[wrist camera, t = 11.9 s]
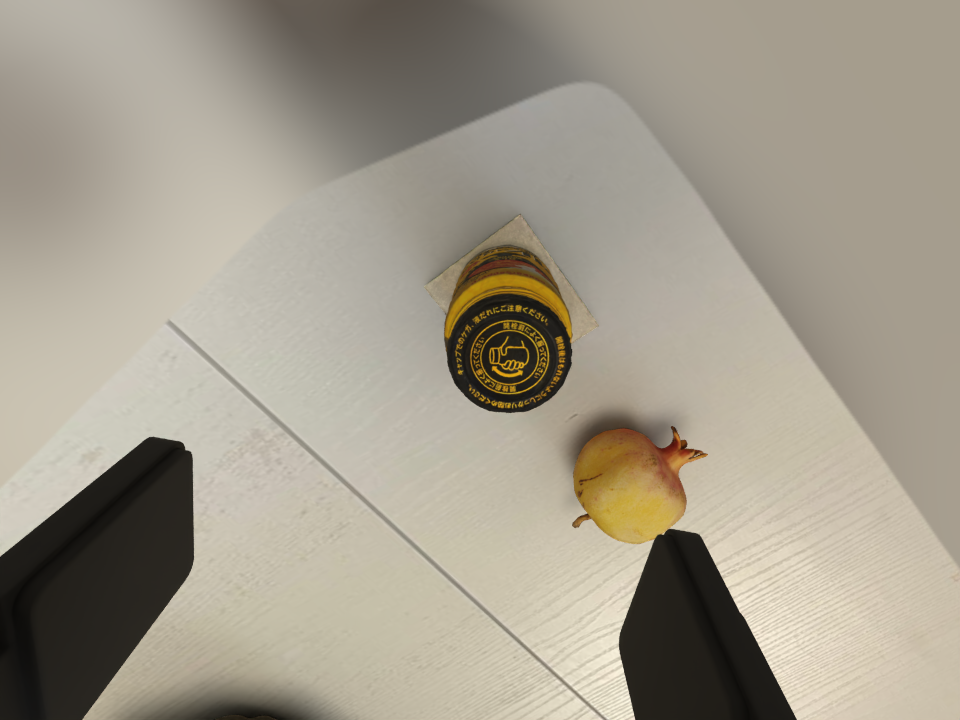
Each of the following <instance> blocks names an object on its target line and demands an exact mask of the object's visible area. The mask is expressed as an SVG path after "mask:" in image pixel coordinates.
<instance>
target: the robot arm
mask: <svg viewBox="0 0 960 720" xmlns="http://www.w3.org/2000/svg"><path fill="white" fill-rule="evenodd" d="M193 561H194V527H193V458H192V454H191V452H190V451H187V450H185V446H184V444H183V443H182V442H179V441H174V440H168V439H162V438H157V437H149V438H147V439H146V440H144V441H143V442H142V443H141V444H139V445H138V446H137V447H136V448H134V449H133V450H132V451H131V452H129V453H128V454H127V455H126V456H124V457H123V458H122V459H121V460H119V461H118V462H117V463H116V464H114V465H113V466H112V467H111V468H110V469H108V470H107V471H106V472H105V473H103V474H102V475H101V476H100V477H98V478H97V479H96V480H95V481H93V482H92V483H91V484H90V485H88V486H87V487H86V488H85V489H84V490H82V491H81V492H80V493H79V494H77V495H76V496H75V497H74V498H72V499H71V500H70V501H69V502H67V503H66V504H65V505H64V506H62V507H61V508H60V509H59V510H58V511H56V512H55V513H54V514H53V515H51V516H50V517H49V518H48V519H46V520H45V521H44V522H43V523H41V524H40V525H39V526H38V527H36V528H35V529H34V530H33V531H32V532H30V533H29V534H28V535H27V536H25V537H24V538H23V539H22V540H20V541H19V542H18V543H17V544H15V545H14V546H13V547H12V548H10V549H9V550H8V551H7V552H5V553H4V554H3V555H2V556H1V557H0V720H82V719H83V718H84V716H85V715H86V714H87V712H88V711H89V710H90V708H91V707H92V706H93V704H94V703H95V701H96V700H97V699H98V697H99V696H100V695H101V693H102V692H103V691H104V689H105V688H106V687H107V685H108V684H109V683H110V681H111V680H112V678H113V677H114V676H115V674H116V673H117V672H118V670H119V669H120V668H121V666H122V665H123V664H124V662H125V661H126V660H127V658H128V657H129V656H130V654H131V653H132V651H133V650H134V649H135V647H136V646H137V645H138V643H139V642H140V641H141V639H142V638H143V637H144V635H145V634H146V633H147V631H148V630H149V629H150V627H151V626H152V624H153V623H154V622H155V620H156V619H157V618H158V616H159V615H160V614H161V612H162V611H163V610H164V608H165V607H166V606H167V604H168V603H169V602H170V600H171V599H172V597H173V596H174V595H175V593H176V592H177V591H178V589H179V588H180V587H181V585H182V584H183V583H184V581H185V580H186V578H187V577H188V575H189V573H190V571H191V569H192V566H193ZM619 650H620V655H621V660H622V664H623V668H624V673H625V677H626V681H627V685H628V690H629V694H630V698H631V703H632V707H633V711H634V716H635V720H797V719H796V717H795V715H794V713H793V711H792V709H791V707H790V706H789V704H788V702H787V700H786V698H785V696H784V694H783V692H782V690H781V688H780V686H779V684H778V682H777V680H776V678H775V676H774V674H773V673H772V671H771V669H770V667H769V665H768V663H767V661H766V659H765V657H764V655H763V653H762V651H761V649H760V647H759V645H758V643H757V641H756V640H755V638H754V636H753V634H752V632H751V630H750V628H749V626H748V624H747V622H746V620H745V619H744V617H743V616H742V614H741V613H740V612H739V610H738V608H737V606H736V604H735V602H734V600H733V598H732V596H731V594H730V592H729V590H728V588H727V587H726V585H725V583H724V581H723V579H722V577H721V575H720V573H719V571H718V569H717V567H716V565H715V563H714V561H713V559H712V557H711V555H710V553H709V551H708V549H707V547H706V545H705V543H704V542H703V540H702V538H701V536H700V535H699V534H697V533H692V532H686V531H680V530H675V529H668V530H667V531H666V532H665V534H664V535H661V534H659V535H657V536H656V538H655V540H654V543H653V545H652V548H651V551H650V553H649V556H648V559H647V562H646V564H645V567H644V570H643V572H642V575H641V578H640V580H639V583H638V586H637V589H636V591H635V594H634V597H633V599H632V602H631V605H630V607H629V610H628V613H627V616H626V618H625V621H624V624H623V626H622V629H621V632H620V637H619Z"/></svg>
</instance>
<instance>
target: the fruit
mask: <svg viewBox="0 0 960 720" xmlns="http://www.w3.org/2000/svg"><path fill="white" fill-rule="evenodd" d="M671 429H672V430H673V435H674V437H673V440H672V443H671V444H670V445H669V446H667V447H666V448H658V447H657V446H655V445H654V444H653V443H652V442H651V441H650V440H649V439H648V438H647V437H646V436H645V435H643V434H641V433H639V432H636V431H634V430H630V429H626V428H621V429H615V430H608V431H604V432H602V433H600V434H598V435H597V436H595V437H594V438H592V439H591V440H590V441H589V442H588V443H587V444H586V445H585V446H584V447H583V448H582V450H581V452H580V454H579V456H578V458H577V461H576V464H575V468H574V472H573V478H574V491H575V494H576V496H577V498H578V500H579V502H580V503H581V505H582V507H583V508H584V509H585V511H586V512H587V513H588V514H585V515H582V516H580V517H578V518H577V519H576V520H575V521H574V522H573V524H572V526H573V527H574V528H577V527H579V526H580V524H581V522H583V521H584V520H589V519H592V520H593V521H594V522H595V523H596V525H597V526H598V527H599V528H600V529H601V530H602V531H603V532H604V533H606V534H607V535H609V536H610V537H612V538H614V539H616V540H618V541H622V542H626V543H631V544H641V543H644V542H647V541H650V540H653V539H655V538H656V536H657V535H659V534H662V533H664V532H665V531H666V530H668V529H669V528H670V527H671V526H673V525H674V524H675V523H676V522H677V521H678V520H680V519H681V517H682V516H683V515H684V512H685V509H686V503H687V500H686V495H685V492H684V489H683V486H682V483H681V481H680V479H679V476H678V473H679V470H680V468H681V467H682V466H683V465H684V464H686V463H688V462H692V461H695V460H697V459H700V458H703V457H706V456H707V455H708V454H705V453H703V452H702V451H700V450H694V449H685V448H686V447H687V441H686V440H681V441H680V437H679V434H678V433H677V430H676V428H675V427H673V426H671ZM697 454H700V455H698V456H696V457H694V456H695V455H697Z"/></svg>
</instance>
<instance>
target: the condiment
mask: <svg viewBox="0 0 960 720" xmlns="http://www.w3.org/2000/svg"><path fill="white" fill-rule="evenodd" d="M424 288H425V289H426V290H427V292H428V293H429V294H430V295H431V297H432V298H433V299H434V300H435V302H436V303H437V304H438V305H439V306H440V308H441V309H442V310H443V311H444V313H445V314H446V315H447V316H446V319H445V328H444V337H445V338H444V341H445V347H446V352H447V359H448V361H447V363H448V367H449V371H450V373H451V375H452V378H453V380H454V383H455V384H456V386H457V387H458V389H460V390H461V392H462V393H463V394H464V395H465V396H466V397H467V398H468V399H469V400H470V401H471V402H473V403H474V404H476V405H477V406H479V407H481V408H483V409H486V410H488V411H493V412H506V413H512V412H513V413H515V412H526V411H529V410H531V409H534V408H536V407H538V406H540V405H542V404H543V403H544V402H546V401H548V400H549V399H550V398H552V397H553V396H554V395H555V394H556V393H557V392H558V390H559V389H560V388H561V387H562V385H563V384H564V382H565V379H566V377H567V374H568V372H569V370H570V367H571V364H572V362H571V356H572V349H571V344H572V343H574V342H575V341H576V340H578V339H579V338H581V337H582V336H584V335H586V334H587V333H589V332H590V331H592V330H593V329H595V328H596V327H598V326H599V325H598V324H597V322H596V321H595V319H594V318H593V317H592V315H591V314H590V312H589V311H588V309H587V308H586V307H585V305H584V304H583V302H582V301H581V299H580V298H579V297H578V295H577V294H576V292H575V291H574V289H573V288H572V287H571V285H570V284H569V282H568V281H567V280H566V278H565V277H564V275H563V274H562V272H561V271H560V269H559V268H558V267H557V265H556V264H555V262H554V261H553V260H552V258H551V257H550V255H549V254H548V252H547V251H546V250H545V248H544V247H543V245H542V244H541V242H540V241H539V240H538V238H537V237H536V235H535V234H534V233H533V231H532V230H531V228H530V227H529V225H528V224H527V223H526V221H525V220H524V218H523V217H522V216H521V214H520V215H518V216H517V217H516V218H514V219H513V220H512V221H510V222H509V223H508V224H506V225H505V226H503V227H502V228H501V229H500V230H498V231H497V232H496V233H494V234H493V235H492V236H490V237H489V238H488V239H486V240H485V241H484V242H482V243H481V244H480V245H478V246H477V247H476V248H474V249H473V250H472V251H470V252H469V253H468V254H467V255H465V256H464V257H463V258H461V259H460V260H459V261H457V262H456V263H455V264H453V265H452V266H451V267H449V268H448V269H447V270H445V271H444V272H443V273H442V274H440V275H439V276H438V277H436V278H435V279H434V280H432V281H431V282H430V283H428V284H427V285H426V286H424Z"/></svg>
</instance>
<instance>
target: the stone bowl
mask: <svg viewBox="0 0 960 720" xmlns="http://www.w3.org/2000/svg"><path fill="white" fill-rule="evenodd" d="M214 720H276V719H274V718H272V717H270V716H265V715H263V716H259V717H254V718H247V717H244V716H240V715H228V716H224V717H220V718H216V719H214Z"/></svg>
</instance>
